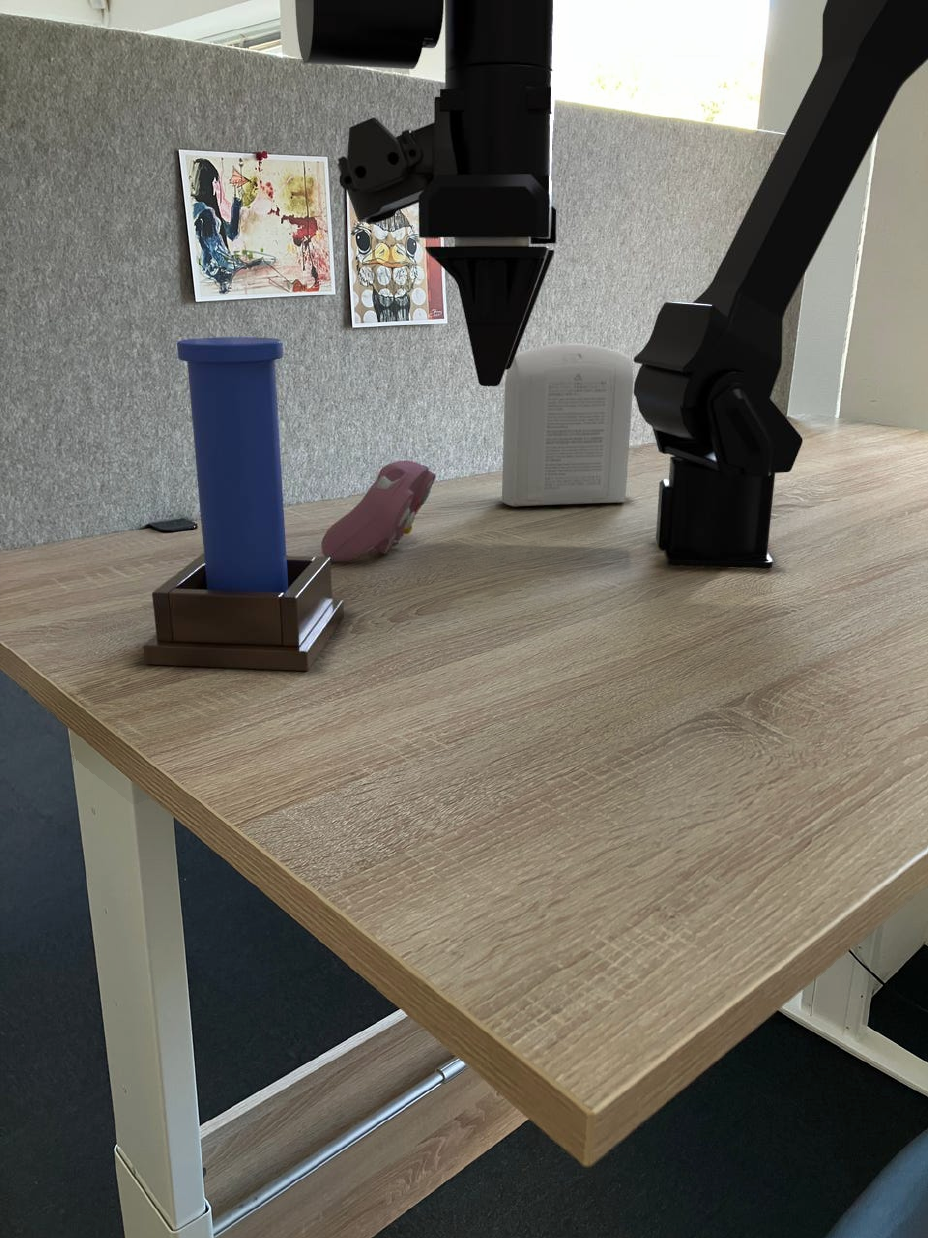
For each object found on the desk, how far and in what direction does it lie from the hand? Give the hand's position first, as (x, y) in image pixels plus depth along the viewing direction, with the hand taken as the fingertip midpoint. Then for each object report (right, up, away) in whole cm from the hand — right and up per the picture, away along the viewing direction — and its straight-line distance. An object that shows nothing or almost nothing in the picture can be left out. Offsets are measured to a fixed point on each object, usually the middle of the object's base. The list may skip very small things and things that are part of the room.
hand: (495, 376), depth 59 cm
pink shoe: (-7, -9, +10) cm, 16 cm away
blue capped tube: (-13, -14, -7) cm, 20 cm away
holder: (-13, -15, -7) cm, 21 cm away
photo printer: (+6, -5, +23) cm, 25 cm away
